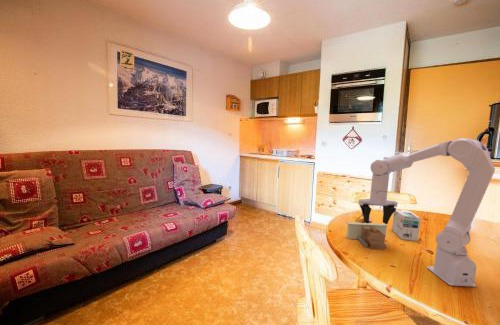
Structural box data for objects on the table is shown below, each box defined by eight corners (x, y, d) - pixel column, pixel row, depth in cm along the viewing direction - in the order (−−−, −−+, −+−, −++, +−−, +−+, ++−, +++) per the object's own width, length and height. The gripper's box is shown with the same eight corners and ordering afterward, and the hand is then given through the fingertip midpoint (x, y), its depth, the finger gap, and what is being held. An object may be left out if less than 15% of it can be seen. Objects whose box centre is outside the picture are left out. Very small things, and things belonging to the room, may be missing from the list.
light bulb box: (418, 241, 97) (421, 217, 96) (400, 239, 98) (404, 215, 97) (406, 231, 107) (409, 209, 106) (390, 229, 109) (393, 208, 107)
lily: (365, 230, 109) (377, 214, 108) (345, 214, 117) (356, 199, 116) (371, 231, 118) (383, 216, 116) (352, 216, 126) (362, 202, 124)
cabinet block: (383, 249, 89) (385, 232, 88) (370, 249, 89) (372, 232, 88) (372, 240, 97) (374, 224, 96) (360, 239, 97) (362, 224, 96)
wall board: (396, 248, 90) (398, 232, 89) (355, 246, 90) (356, 230, 89) (383, 238, 99) (384, 223, 98) (345, 236, 99) (347, 222, 98)
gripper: (391, 188, 94) (387, 219, 95) (356, 187, 94) (353, 218, 95) (402, 192, 87) (398, 226, 88) (364, 191, 87) (361, 225, 88)
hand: (375, 222), depth 91 cm, fingers open, 7 cm apart
